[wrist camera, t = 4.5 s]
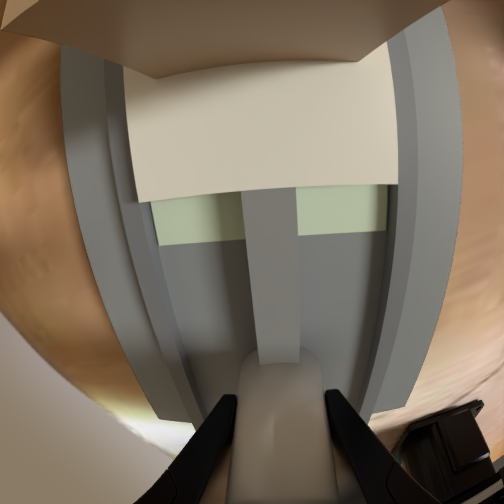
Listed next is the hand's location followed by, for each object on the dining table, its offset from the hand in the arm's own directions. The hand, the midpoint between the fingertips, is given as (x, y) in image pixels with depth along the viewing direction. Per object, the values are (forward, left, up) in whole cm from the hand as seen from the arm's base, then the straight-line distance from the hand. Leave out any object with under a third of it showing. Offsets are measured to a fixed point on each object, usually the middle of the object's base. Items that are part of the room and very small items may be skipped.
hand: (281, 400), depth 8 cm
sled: (+7, 0, -1) cm, 7 cm away
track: (+9, 0, -2) cm, 10 cm away
